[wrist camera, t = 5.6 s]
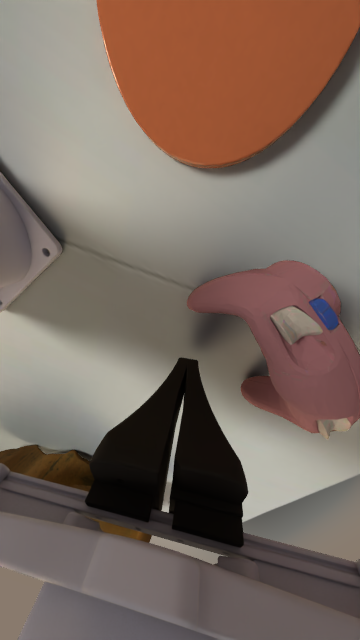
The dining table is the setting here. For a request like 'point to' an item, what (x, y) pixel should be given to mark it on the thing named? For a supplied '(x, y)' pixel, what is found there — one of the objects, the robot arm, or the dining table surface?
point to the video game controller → (292, 343)
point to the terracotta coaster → (223, 69)
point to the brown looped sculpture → (61, 476)
